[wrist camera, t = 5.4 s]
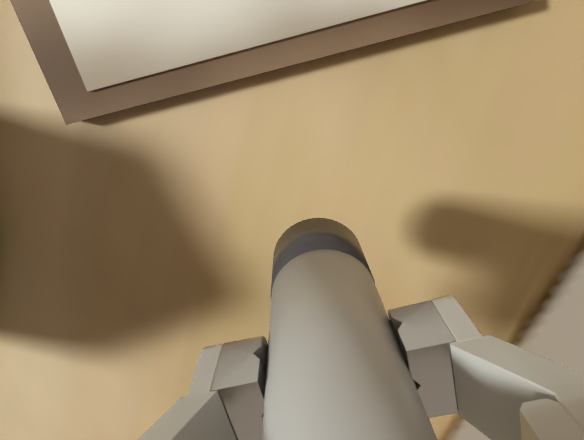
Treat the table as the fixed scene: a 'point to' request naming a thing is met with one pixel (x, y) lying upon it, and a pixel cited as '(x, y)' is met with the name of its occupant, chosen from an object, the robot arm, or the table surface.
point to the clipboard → (205, 41)
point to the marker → (334, 346)
